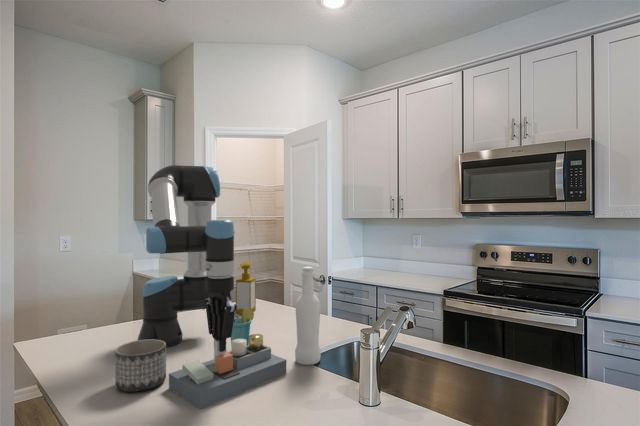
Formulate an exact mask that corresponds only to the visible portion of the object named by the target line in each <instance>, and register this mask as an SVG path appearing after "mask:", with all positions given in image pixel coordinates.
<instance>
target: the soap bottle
mask: <svg viewBox="0 0 640 426" xmlns="http://www.w3.org/2000/svg"><path fill="white" fill-rule="evenodd" d="M251 266H252V263H249V262H246V261H245V262H243V263H241V264H240V265H239V267H238V268H237V269H238V270H239V269H241V270H242V269H243V273H241V277H239V278H238V279H235V304H236V305H237V309H236V311H235V314H236V315H242V312H243V311H244V310H245V309H246V308H249V309H252V310H253V313H254V312H256V309H257V306H256V302H257V301H256V297H257V296H256V291H257V290H256V289H257V288H256V283H257V282H256V281H257V280H256V279H257V278H256V277H250V276H251V275H250V272H248V271H249V270H248V269H250V268H251Z"/></svg>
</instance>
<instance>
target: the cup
mask: <svg viewBox="0 0 640 426" xmlns="http://www.w3.org/2000/svg"><path fill="white" fill-rule="evenodd" d="M254 315H255V314H254V312H253V310H252V309H249V308H246V309H245V310H244V311H243V312H242V314H241V316H240V317H236V316H235V315H234V322H233V329H232V335H231V337H230V346H231V348H232V340H235V339H246V340H247V346H249V336H250V332H251V331H250V330H251V324H252V321H253V319H254Z"/></svg>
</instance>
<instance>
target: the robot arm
mask: <svg viewBox="0 0 640 426" xmlns="http://www.w3.org/2000/svg"><path fill="white" fill-rule="evenodd" d="M147 191H148V195H149V197H150V198H151V209H152V210H151V212H152V213H151V214H152V226H149V227H147V228H146V230H145V231H146V234H145V236H146V237H145V243H146V245H145V247H146V248H145V249H146V252H147V253H148V254H160V255H164V254H179V253H187V270H186V271H185V272H184V273H183V279H179V278H178V276H177V275H166V276H160V277H155V278H153V279H150V280H147V281H145V283H144V284H143V286H142V287H143V289H142V296H141V297H143V298H142V325H141V327H140V330H139V333H138V337H137V341H138V340H146V339H156V340H162V341H164V342H165V343H166V348H169V347H174V346H175V345H178V344H180V343H181V342H182V341H183V331H182V328H181V325H180V322H179V320H178V313H179V312H188V311H195V310H196V311H197V310H198V311H199V310H204V311H206V312H205V313H206V320H207V328H208V334H209V335H212V338H213V359H214V363H215V357H216V356H219V355H222V354H225V353H227V352H226V351H227V339H231V335H232V329H233V322H234V315H235V314H236V309H237V305H236V303H233V302H232V296H231V292H232V291H233V290H234V289H235V277H234V276H233V275H234V274H235V256H234V254H235V245H234V244H235V232H236V231H235V227H234V224H235V223H234V221H232V220H231V219H212V207H213V205H214V204H216V201H217V198H220V196H221V184H220V177H219V174H218V172H217V169H215V168H214V167H212V166H204V165H179V164H172V165H168V166H167V165H166V166H165V167H163V168H161V169H159V170H158V171H156V172H155V173H154V174H153V175H152V176H151V178H150V179H149V181H148V186H147ZM178 197H180V198H183V203H184V204H185V205H186V206H187V225H185V226H181V224H180V216H179V215H180V214H179V208H178V202H177V198H178Z"/></svg>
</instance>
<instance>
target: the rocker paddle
mask: <svg viewBox="0 0 640 426" xmlns="http://www.w3.org/2000/svg"><path fill="white" fill-rule="evenodd" d="M202 363H203V362H201V361H200V360H199V359H196V360H193V361H189V362H186V363H183V364H182V369H183V370H184V371H185V372H186V373H187V374H188V375H189V376H190V377H191V378H192V379H193V380H194V381H195V382H196V383H197V384H200V383H203V382H206V381H209V380H211V379H213V375H214V374H213V373H212V372H211V371H210V370H209V369H208V368H207V367H205V366H204V365H203V364H202ZM182 369H181V370H182Z"/></svg>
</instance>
